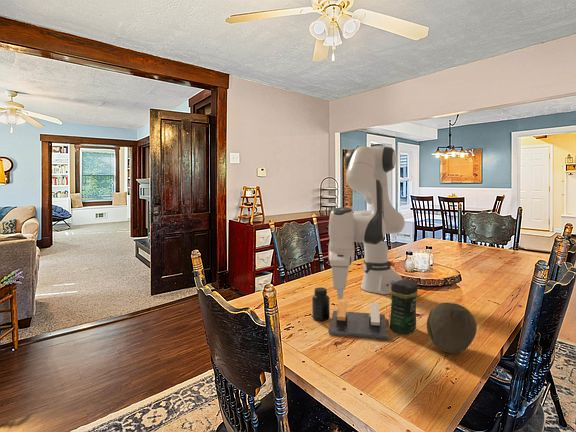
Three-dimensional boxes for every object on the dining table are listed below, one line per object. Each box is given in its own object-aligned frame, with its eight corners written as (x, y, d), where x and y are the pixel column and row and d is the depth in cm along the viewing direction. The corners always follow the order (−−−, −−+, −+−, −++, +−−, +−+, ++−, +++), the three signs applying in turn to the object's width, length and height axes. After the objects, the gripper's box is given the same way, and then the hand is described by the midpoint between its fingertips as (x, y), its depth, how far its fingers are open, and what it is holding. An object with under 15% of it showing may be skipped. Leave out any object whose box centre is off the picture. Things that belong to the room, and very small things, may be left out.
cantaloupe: (474, 366, 95) (476, 317, 93) (422, 353, 103) (424, 308, 101) (476, 345, 107) (478, 301, 105) (429, 335, 115) (431, 293, 113)
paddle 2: (368, 307, 125) (368, 302, 124) (380, 308, 124) (380, 303, 123) (368, 326, 117) (369, 321, 116) (381, 327, 116) (381, 322, 115)
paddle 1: (337, 307, 128) (337, 301, 128) (348, 307, 127) (348, 302, 127) (335, 322, 119) (334, 316, 118) (347, 323, 118) (347, 317, 117)
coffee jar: (407, 338, 112) (408, 286, 110) (386, 330, 118) (387, 281, 116) (419, 329, 119) (421, 279, 117) (399, 322, 125) (400, 275, 123)
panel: (333, 314, 133) (333, 306, 133) (384, 318, 129) (384, 309, 128) (328, 334, 116) (328, 325, 115) (387, 340, 111) (387, 330, 111)
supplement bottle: (317, 313, 134) (317, 285, 133) (332, 317, 130) (332, 288, 129) (309, 319, 128) (308, 290, 127) (324, 323, 125) (324, 293, 123)
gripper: (334, 248, 123) (334, 283, 125) (329, 262, 104) (329, 303, 105) (351, 248, 122) (351, 284, 124) (349, 262, 102) (349, 305, 104)
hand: (341, 293), depth 114 cm, fingers open, 8 cm apart
